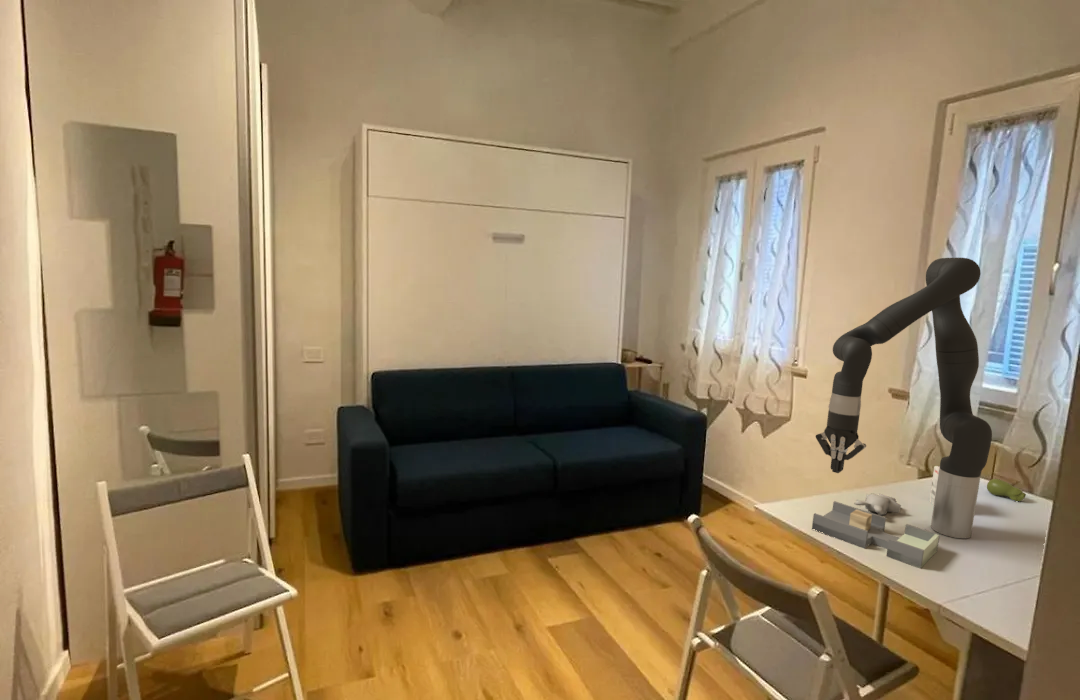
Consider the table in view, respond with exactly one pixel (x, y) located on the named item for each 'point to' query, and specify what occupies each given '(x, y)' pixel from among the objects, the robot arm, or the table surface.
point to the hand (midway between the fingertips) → (836, 471)
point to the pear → (1005, 489)
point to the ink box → (934, 484)
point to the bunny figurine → (879, 504)
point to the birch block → (860, 520)
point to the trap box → (879, 535)
